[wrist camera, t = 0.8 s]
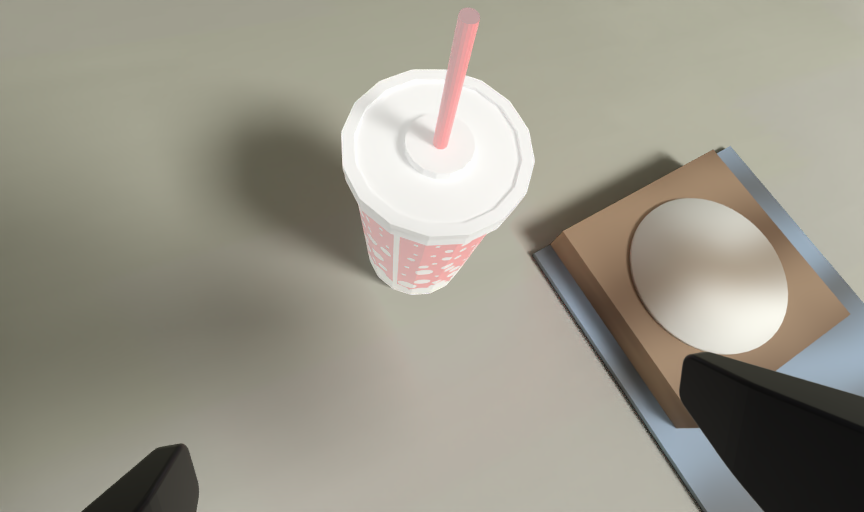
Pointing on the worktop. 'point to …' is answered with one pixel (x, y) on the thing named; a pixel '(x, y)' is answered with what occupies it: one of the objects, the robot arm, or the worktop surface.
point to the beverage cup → (434, 167)
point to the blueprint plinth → (704, 301)
